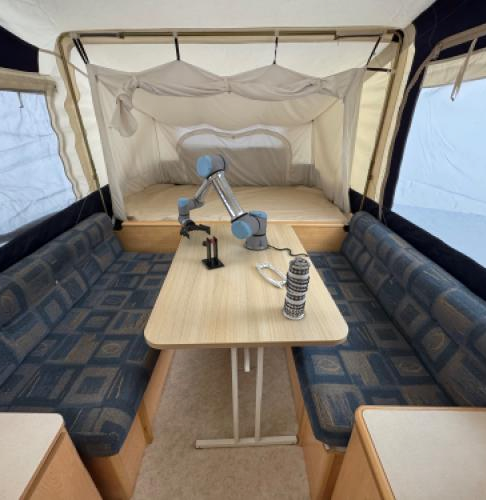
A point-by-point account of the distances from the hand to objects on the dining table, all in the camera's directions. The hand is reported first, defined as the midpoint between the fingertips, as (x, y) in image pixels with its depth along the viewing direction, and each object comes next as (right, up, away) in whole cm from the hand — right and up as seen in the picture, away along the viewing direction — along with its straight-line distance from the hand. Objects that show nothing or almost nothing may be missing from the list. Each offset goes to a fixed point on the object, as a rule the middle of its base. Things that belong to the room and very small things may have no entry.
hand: (199, 235), depth 163 cm
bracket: (+9, -17, -12) cm, 23 cm away
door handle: (+41, -23, -23) cm, 52 cm away
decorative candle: (+47, -36, -51) cm, 78 cm away
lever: (+7, -7, -12) cm, 16 cm away
